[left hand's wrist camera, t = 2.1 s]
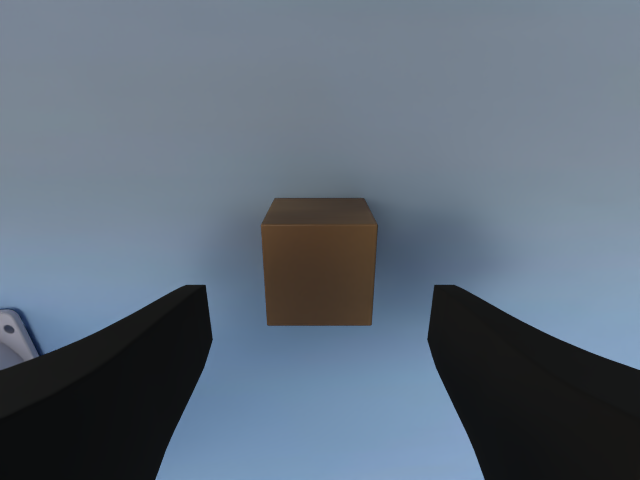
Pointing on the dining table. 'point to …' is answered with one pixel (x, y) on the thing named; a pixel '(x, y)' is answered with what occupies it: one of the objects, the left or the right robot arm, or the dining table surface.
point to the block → (319, 262)
